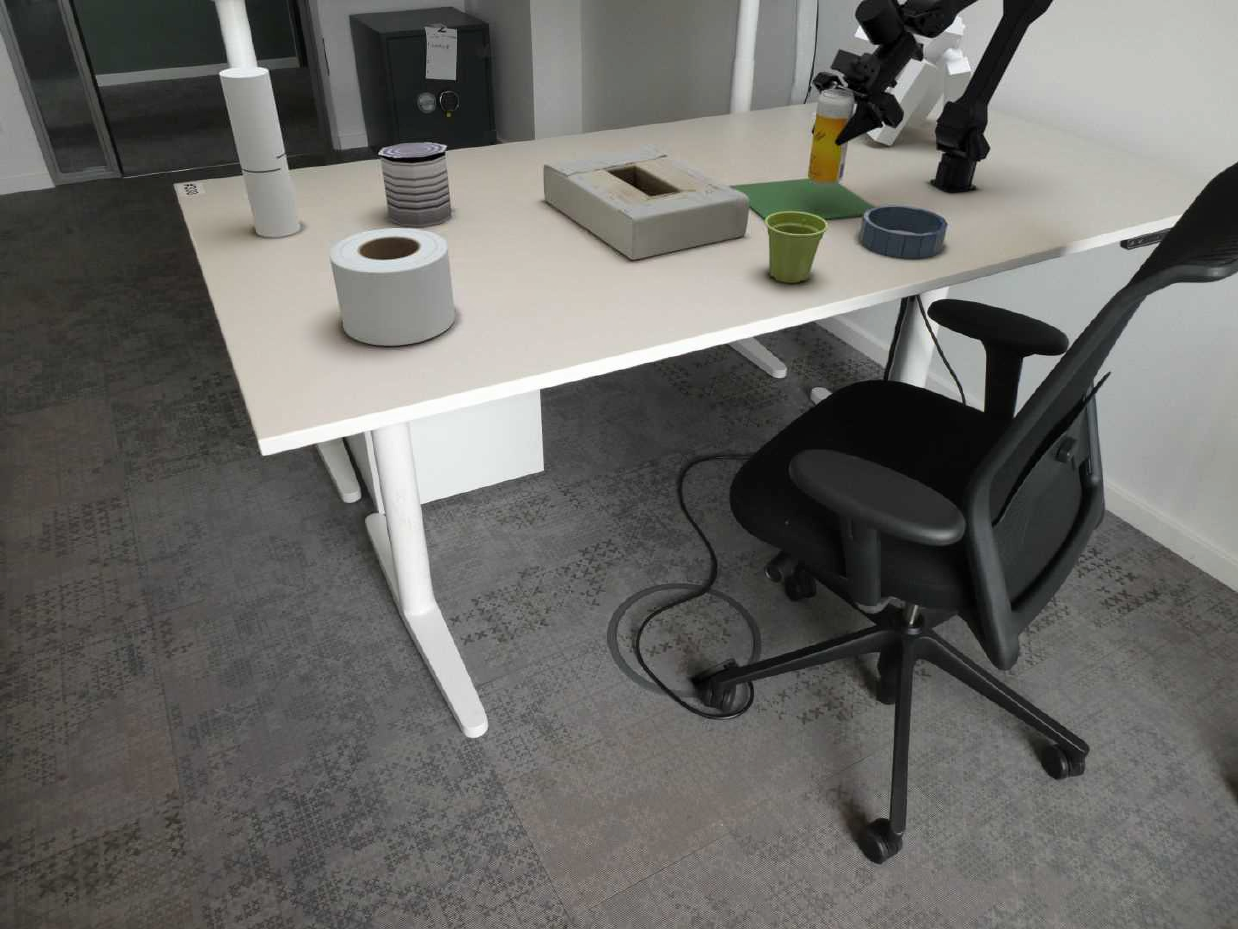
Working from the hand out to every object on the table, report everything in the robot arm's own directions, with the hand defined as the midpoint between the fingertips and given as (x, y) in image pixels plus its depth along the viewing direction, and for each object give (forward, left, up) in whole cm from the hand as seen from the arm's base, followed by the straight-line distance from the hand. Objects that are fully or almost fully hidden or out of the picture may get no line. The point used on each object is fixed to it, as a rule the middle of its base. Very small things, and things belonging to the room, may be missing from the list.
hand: (824, 139), depth 152 cm
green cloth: (-1, -6, -13) cm, 15 cm away
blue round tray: (-7, +17, -13) cm, 22 cm away
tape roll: (+78, +19, -13) cm, 81 cm away
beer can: (-1, 0, -8) cm, 8 cm away
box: (+31, -7, -13) cm, 34 cm away
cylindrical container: (+92, -21, -13) cm, 95 cm away
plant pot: (+18, +23, -13) cm, 32 cm away
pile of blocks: (-45, -39, -13) cm, 62 cm away
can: (+68, -20, -13) cm, 72 cm away
